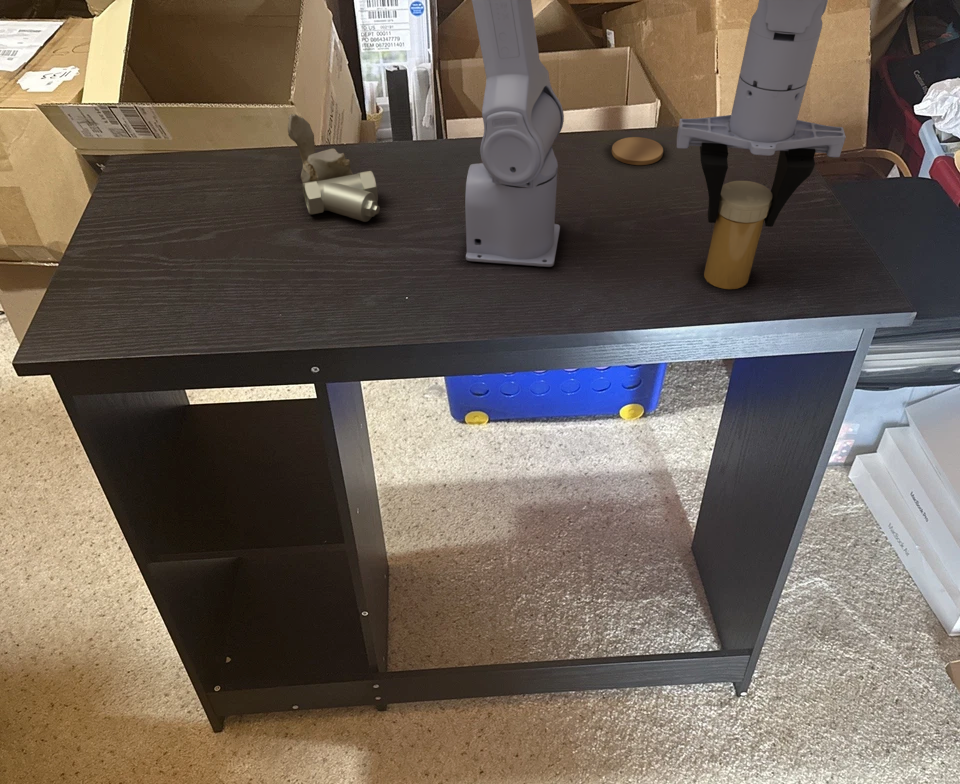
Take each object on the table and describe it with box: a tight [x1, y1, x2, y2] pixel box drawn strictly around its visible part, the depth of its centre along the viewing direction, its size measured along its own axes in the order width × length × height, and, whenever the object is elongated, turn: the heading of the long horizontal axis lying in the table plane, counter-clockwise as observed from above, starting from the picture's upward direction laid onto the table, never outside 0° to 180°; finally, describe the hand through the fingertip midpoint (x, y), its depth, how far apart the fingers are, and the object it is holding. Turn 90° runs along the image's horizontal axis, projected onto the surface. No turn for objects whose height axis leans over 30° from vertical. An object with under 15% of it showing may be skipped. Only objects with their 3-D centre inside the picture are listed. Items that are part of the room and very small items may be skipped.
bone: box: [287, 113, 354, 184], centre depth 98 cm, size 9×6×10 cm
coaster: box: [611, 136, 664, 166], centre depth 105 cm, size 6×6×1 cm
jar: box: [703, 212, 765, 290], centre depth 84 cm, size 5×5×9 cm
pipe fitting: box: [301, 170, 381, 223], centre depth 95 cm, size 8×4×7 cm
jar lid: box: [718, 180, 773, 223], centre depth 81 cm, size 5×5×2 cm
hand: (739, 219), depth 82 cm, fingers closed on jar lid, 5 cm apart
